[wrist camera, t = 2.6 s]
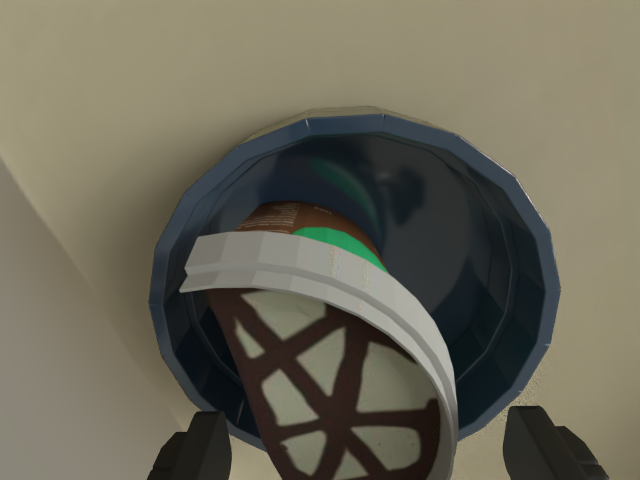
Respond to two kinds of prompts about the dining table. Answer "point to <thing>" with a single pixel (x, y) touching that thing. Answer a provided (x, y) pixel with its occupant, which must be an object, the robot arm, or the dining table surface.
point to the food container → (329, 347)
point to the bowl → (390, 241)
